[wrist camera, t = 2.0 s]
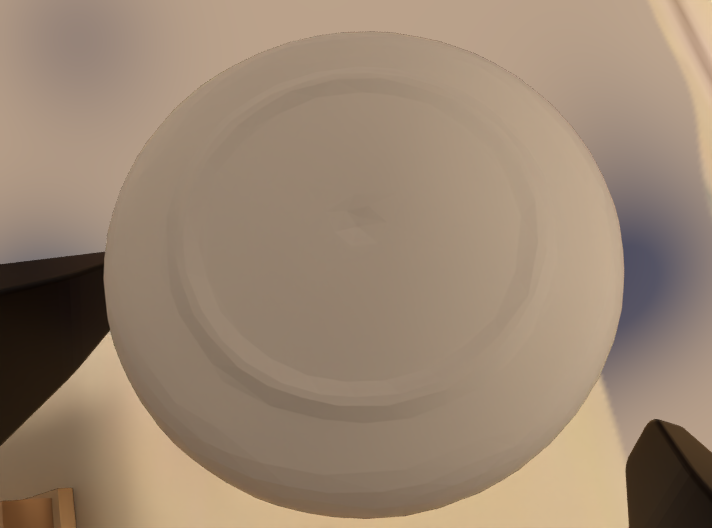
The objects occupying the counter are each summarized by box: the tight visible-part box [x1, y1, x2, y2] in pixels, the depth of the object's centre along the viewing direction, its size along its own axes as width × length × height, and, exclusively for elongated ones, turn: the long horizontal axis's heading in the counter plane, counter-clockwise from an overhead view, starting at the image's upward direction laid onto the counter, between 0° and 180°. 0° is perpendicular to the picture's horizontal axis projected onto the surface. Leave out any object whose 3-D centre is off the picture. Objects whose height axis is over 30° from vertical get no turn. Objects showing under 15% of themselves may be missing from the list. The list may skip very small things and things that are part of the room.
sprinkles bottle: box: [103, 32, 624, 519], centre depth 11 cm, size 5×5×13 cm
